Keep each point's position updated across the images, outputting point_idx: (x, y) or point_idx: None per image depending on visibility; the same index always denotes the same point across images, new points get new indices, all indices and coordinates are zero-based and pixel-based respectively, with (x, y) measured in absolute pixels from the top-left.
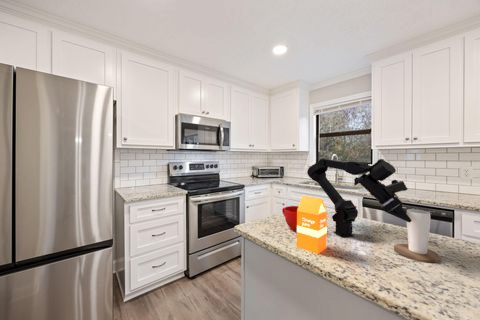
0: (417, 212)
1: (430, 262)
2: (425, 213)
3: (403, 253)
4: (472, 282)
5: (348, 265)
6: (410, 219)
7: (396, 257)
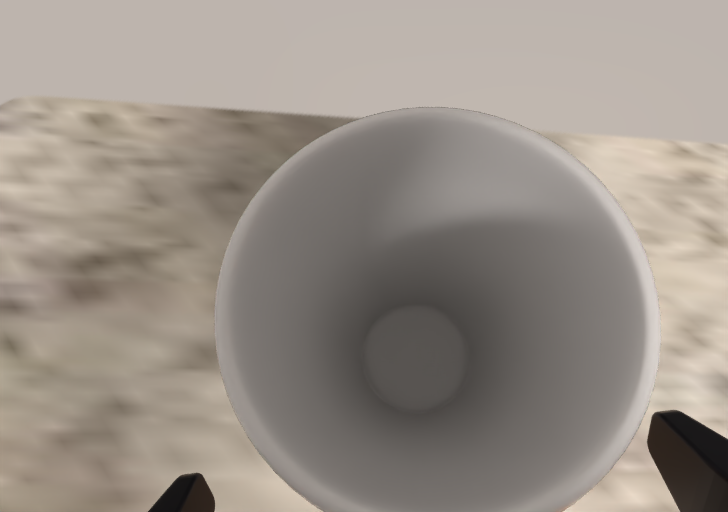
0: (248, 314)
1: None
2: (299, 193)
3: None
4: (621, 145)
5: None
6: (710, 432)
7: (593, 493)
